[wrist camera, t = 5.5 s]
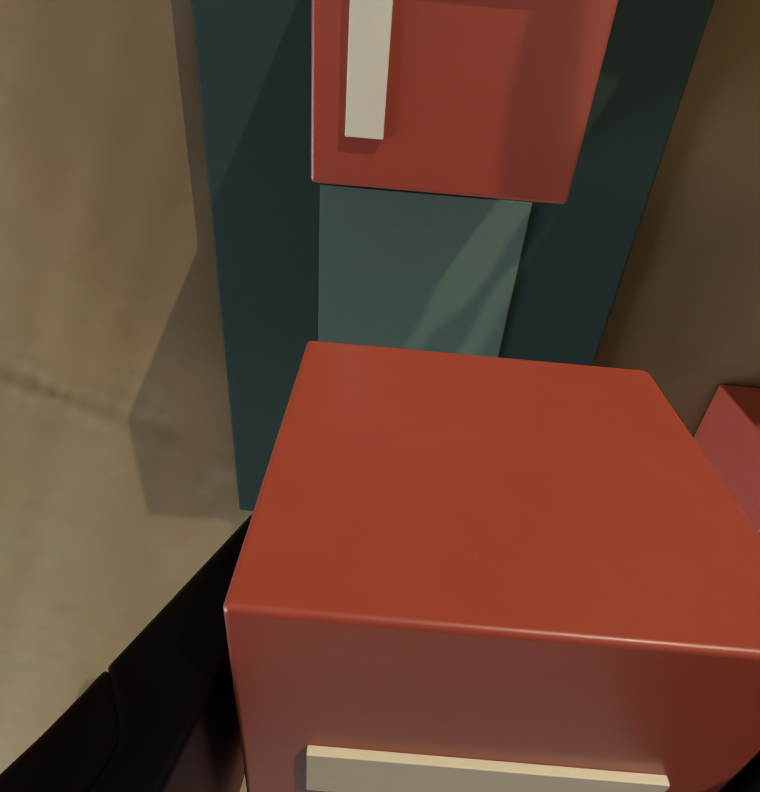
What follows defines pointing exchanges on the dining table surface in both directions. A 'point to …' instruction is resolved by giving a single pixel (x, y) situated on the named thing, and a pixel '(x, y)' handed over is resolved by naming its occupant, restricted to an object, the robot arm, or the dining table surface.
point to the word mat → (412, 218)
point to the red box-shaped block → (491, 585)
